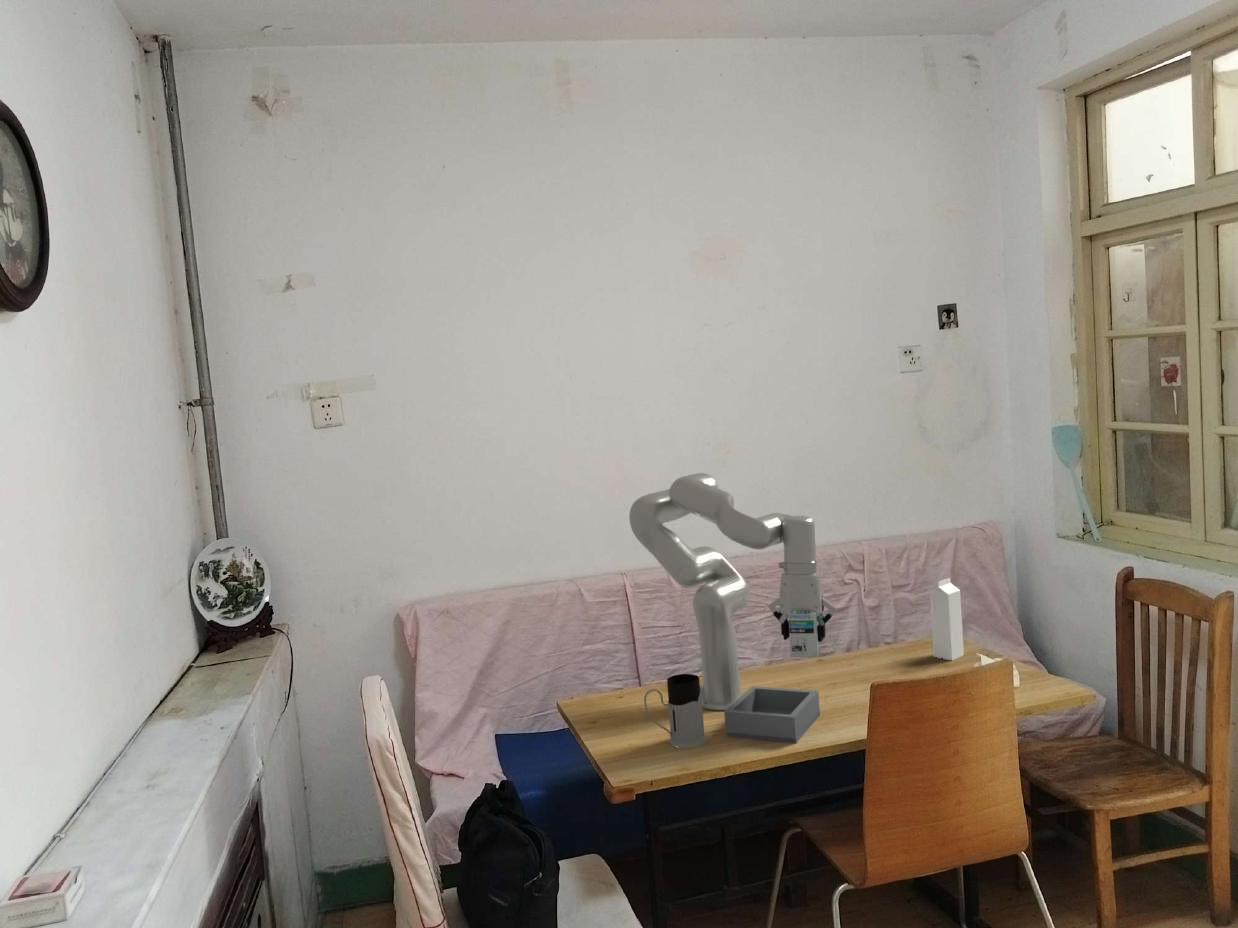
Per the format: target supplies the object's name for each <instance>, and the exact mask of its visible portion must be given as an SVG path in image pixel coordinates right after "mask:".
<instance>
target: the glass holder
mask: <svg viewBox="0 0 1238 928" xmlns="http://www.w3.org/2000/svg"><path fill="white" fill-rule="evenodd" d="M666 683H667V684H666V686H667V697H668V700H667V703H664V698H663V694H662V693H661V692H660V690H659V689H656V688H655V689H654V688H652V689H649V690H647V692H645V695H644V698H643V703H644V704H643V706H644V709H645V712H646V714H647V716H648V718H649V719H650V721H652V722H653V723H654V724H655V725H657V726H658V727H660V728H661V729H662V730H665V731H666V732H668V734H669V737H670V739H669V744H670V743H671V744H672V745H674V746H678V747H680V748H679V749H693V747H695V748H698V747H697V746H699V747H701V746H704V745H705V744H706V743H707V742H708V739H707V737H706V734H705V725H704V712H703V711H704V710H703V707H702V698H701V688H700V685H701V684H700V677H699V676H698V675H696V674H693V673H692V674H691V673H680V674H674V675H671V676H669V677H668V678H667V679H666ZM652 692H657V693H658V694H659V696H660V701H661V704H662V705H663V706H664V707H665V706H666V707H667V706H668V717H669V718H668V719H669V726H670V727H669V729H670V730H669V729H667V728H666V727H665V726H663V725H661V724H659V723H658V722H657V721H656V720H654V718H653V717H652V715H651V714H650V712H649V709H648V706H647V697H648V695H649V694H650V693H652ZM706 741H707V742H706ZM704 743H705V744H704ZM672 745H671V746H672ZM674 746H673V747H674Z"/></svg>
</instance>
